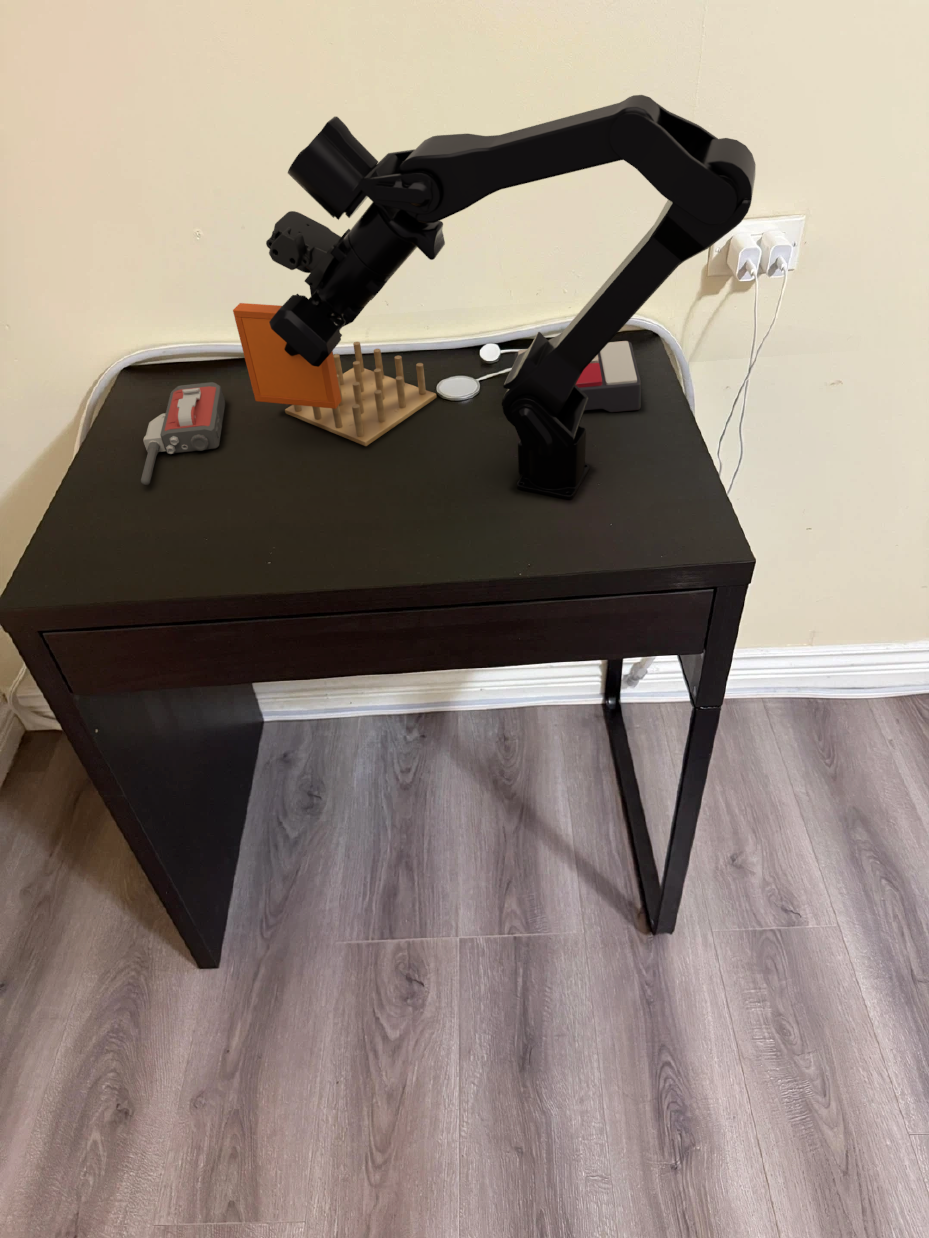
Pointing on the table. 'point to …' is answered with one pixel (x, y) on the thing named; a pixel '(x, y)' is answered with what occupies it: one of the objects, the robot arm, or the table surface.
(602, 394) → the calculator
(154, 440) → the walkie-talkie
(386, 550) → the table surface
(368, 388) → the rack
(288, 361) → the lid
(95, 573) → the table surface
